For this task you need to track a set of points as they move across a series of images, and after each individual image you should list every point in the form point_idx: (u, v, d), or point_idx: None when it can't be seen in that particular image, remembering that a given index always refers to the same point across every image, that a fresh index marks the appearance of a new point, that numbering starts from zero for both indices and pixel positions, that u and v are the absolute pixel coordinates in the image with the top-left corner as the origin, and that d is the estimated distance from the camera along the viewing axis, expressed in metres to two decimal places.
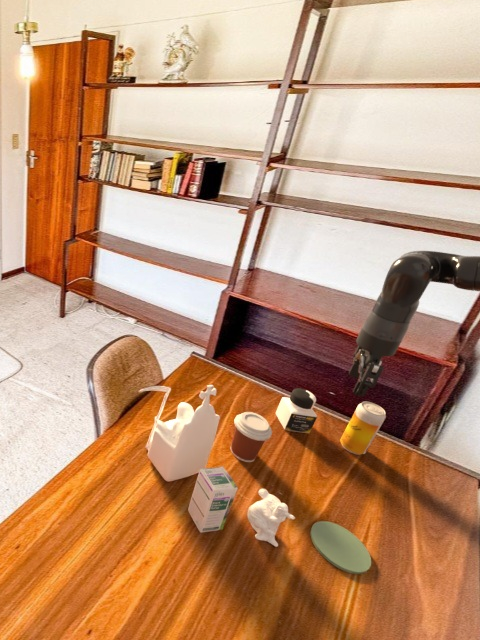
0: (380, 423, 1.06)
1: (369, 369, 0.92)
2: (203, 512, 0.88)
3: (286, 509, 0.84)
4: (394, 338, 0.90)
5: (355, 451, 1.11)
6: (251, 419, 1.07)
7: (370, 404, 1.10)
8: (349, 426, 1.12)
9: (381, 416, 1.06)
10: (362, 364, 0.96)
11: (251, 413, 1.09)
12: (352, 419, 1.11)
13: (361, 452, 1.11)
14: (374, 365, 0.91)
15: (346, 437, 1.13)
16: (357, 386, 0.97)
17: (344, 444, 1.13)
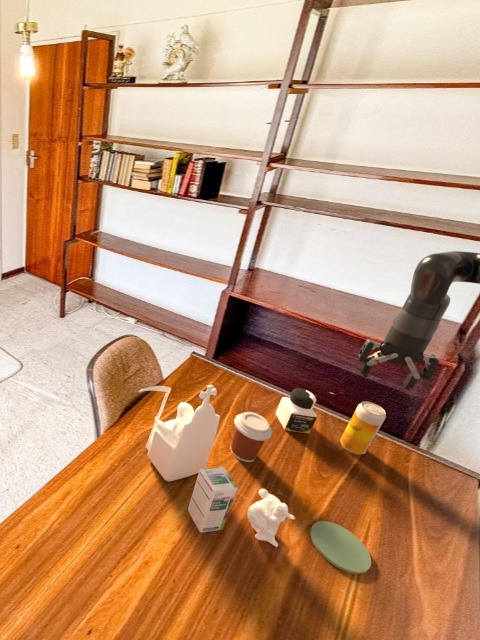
0: (380, 423, 1.06)
1: (365, 342, 1.03)
2: (203, 512, 0.88)
3: (286, 509, 0.84)
4: (397, 325, 0.97)
5: (355, 451, 1.11)
6: (251, 419, 1.07)
7: (370, 404, 1.10)
8: (349, 426, 1.12)
9: (381, 416, 1.06)
10: None
11: (251, 413, 1.09)
12: (352, 419, 1.11)
13: (361, 452, 1.11)
14: (368, 339, 1.02)
15: (346, 437, 1.13)
16: None
17: (344, 444, 1.13)
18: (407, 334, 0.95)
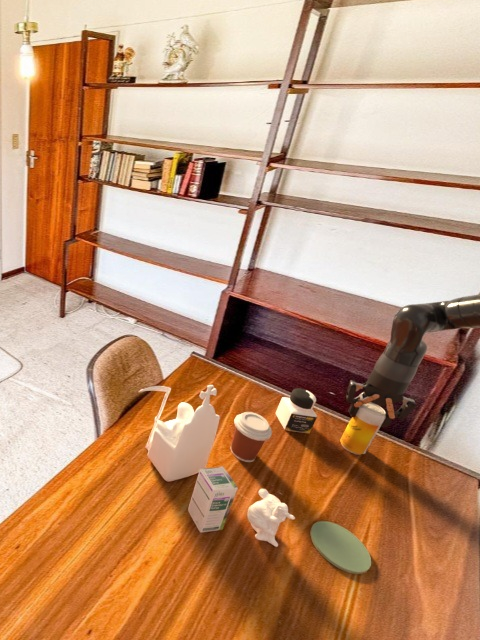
0: (380, 423, 1.06)
1: (349, 384, 1.10)
2: (203, 512, 0.88)
3: (286, 509, 0.84)
4: (378, 368, 1.03)
5: (355, 451, 1.11)
6: (251, 419, 1.07)
7: (370, 404, 1.10)
8: (349, 426, 1.12)
9: (381, 416, 1.06)
10: None
11: (251, 413, 1.09)
12: (352, 419, 1.11)
13: (362, 452, 1.11)
14: (351, 381, 1.09)
15: (346, 437, 1.13)
16: None
17: (344, 444, 1.13)
18: (387, 378, 1.01)
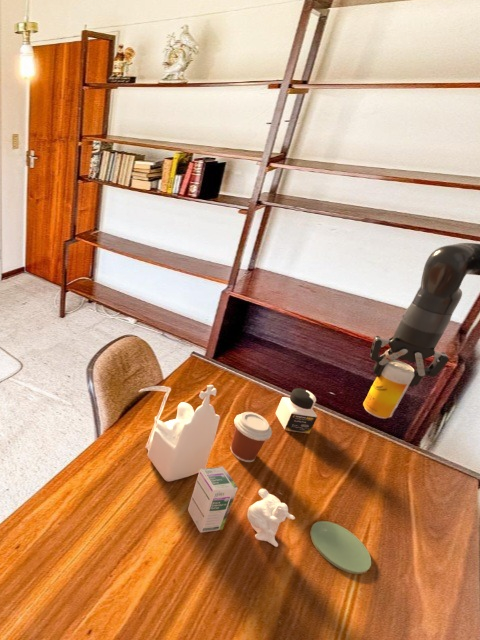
0: (408, 381, 0.97)
1: (373, 340, 1.01)
2: (203, 512, 0.88)
3: (286, 509, 0.84)
4: (406, 320, 0.94)
5: (380, 414, 1.02)
6: (251, 419, 1.07)
7: (396, 362, 1.01)
8: (373, 387, 1.03)
9: (409, 373, 0.97)
10: None
11: (251, 413, 1.09)
12: (377, 379, 1.02)
13: (387, 416, 1.02)
14: (376, 337, 1.00)
15: (370, 399, 1.03)
16: None
17: (368, 407, 1.04)
18: (417, 329, 0.92)
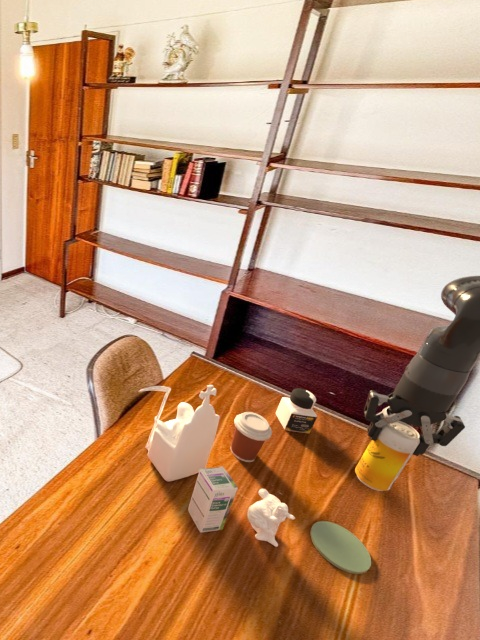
0: (412, 450, 0.77)
1: (368, 395, 0.80)
2: (203, 512, 0.88)
3: (286, 509, 0.84)
4: (411, 375, 0.73)
5: (376, 486, 0.82)
6: (251, 419, 1.07)
7: (397, 423, 0.80)
8: (368, 452, 0.82)
9: (414, 440, 0.76)
10: None
11: (251, 413, 1.09)
12: (372, 443, 0.82)
13: (385, 489, 0.82)
14: (371, 392, 0.79)
15: (364, 466, 0.83)
16: None
17: (361, 476, 0.84)
18: (425, 388, 0.71)
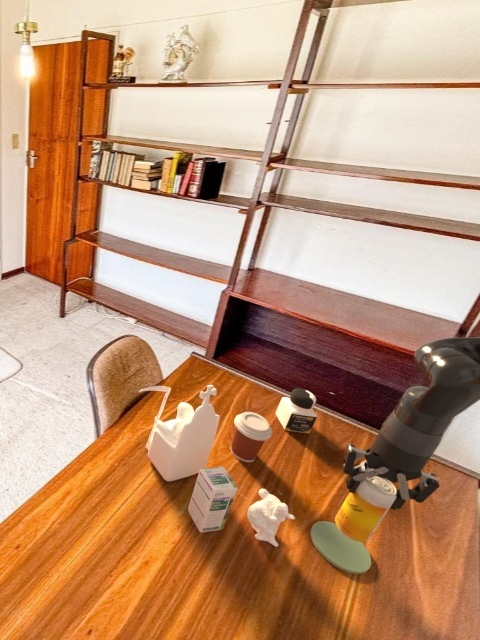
0: (389, 505, 0.78)
1: (346, 449, 0.81)
2: (203, 512, 0.88)
3: (286, 509, 0.84)
4: (386, 433, 0.74)
5: (355, 538, 0.83)
6: (251, 419, 1.07)
7: (375, 476, 0.81)
8: (347, 503, 0.83)
9: (390, 496, 0.77)
10: None
11: (251, 413, 1.09)
12: (351, 495, 0.83)
13: (364, 540, 0.82)
14: (349, 446, 0.80)
15: (343, 517, 0.84)
16: None
17: (340, 526, 0.85)
18: (400, 448, 0.72)
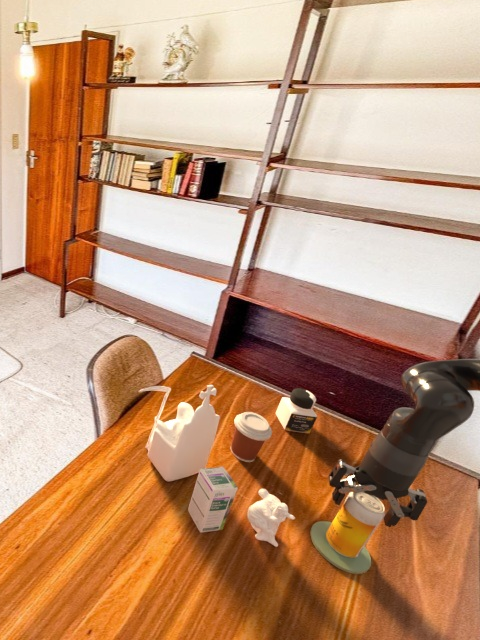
0: (377, 523, 0.80)
1: (337, 463, 0.83)
2: (203, 512, 0.88)
3: (286, 509, 0.84)
4: (374, 453, 0.76)
5: (345, 553, 0.85)
6: (251, 419, 1.07)
7: (364, 494, 0.83)
8: (337, 520, 0.86)
9: (379, 514, 0.79)
10: None
11: (251, 413, 1.09)
12: (341, 512, 0.85)
13: (353, 556, 0.85)
14: (341, 462, 0.82)
15: (334, 533, 0.86)
16: None
17: (331, 542, 0.87)
18: (387, 467, 0.74)
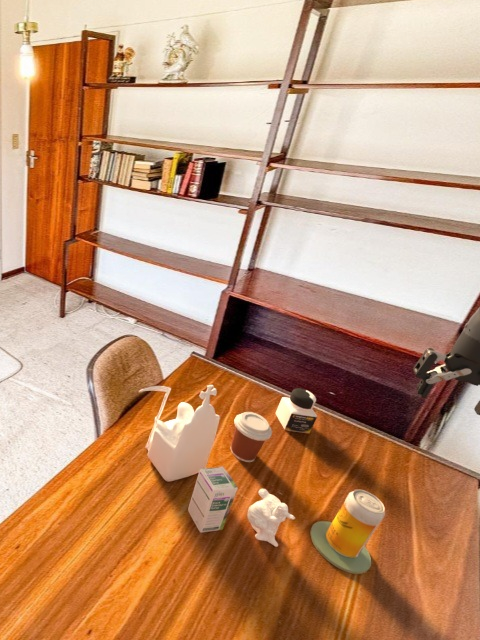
0: (377, 523, 0.80)
1: (424, 353, 0.79)
2: (203, 512, 0.88)
3: (286, 509, 0.84)
4: (472, 332, 0.73)
5: (345, 553, 0.85)
6: (251, 419, 1.07)
7: (364, 494, 0.83)
8: (337, 520, 0.86)
9: (379, 514, 0.79)
10: None
11: (251, 413, 1.09)
12: (341, 512, 0.85)
13: (353, 556, 0.85)
14: (429, 350, 0.78)
15: (334, 533, 0.86)
16: None
17: (331, 542, 0.87)
18: None
